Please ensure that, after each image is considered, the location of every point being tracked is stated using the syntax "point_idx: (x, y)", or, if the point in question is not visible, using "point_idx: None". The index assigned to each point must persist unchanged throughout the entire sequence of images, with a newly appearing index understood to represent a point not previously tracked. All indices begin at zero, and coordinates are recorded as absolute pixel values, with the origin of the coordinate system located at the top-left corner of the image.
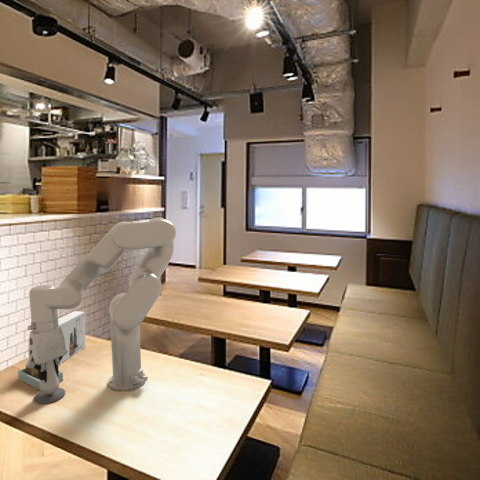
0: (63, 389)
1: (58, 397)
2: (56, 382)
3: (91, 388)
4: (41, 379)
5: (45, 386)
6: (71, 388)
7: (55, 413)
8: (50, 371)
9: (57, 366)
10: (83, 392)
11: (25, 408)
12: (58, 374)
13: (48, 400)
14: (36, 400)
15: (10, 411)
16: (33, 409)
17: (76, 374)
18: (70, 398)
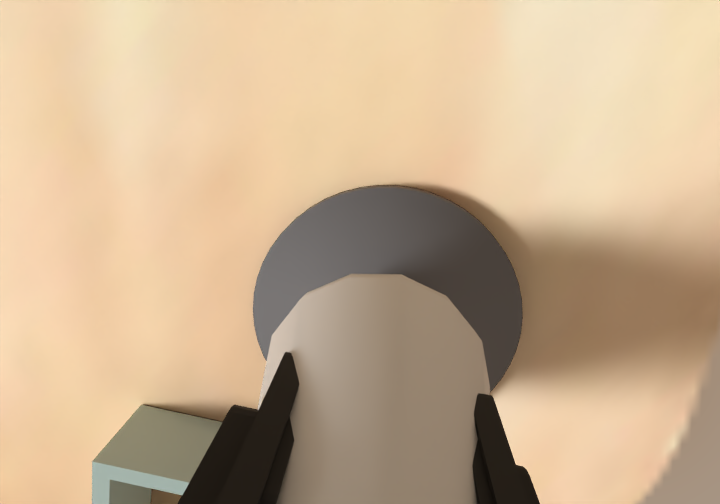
0: (261, 274)
1: (392, 206)
2: (359, 301)
3: (96, 34)
4: (524, 479)
5: (484, 362)
6: (198, 235)
7: (620, 17)
8: (419, 487)
9: (222, 493)
10: (193, 56)
11: (609, 359)
12: (139, 468)
13: (471, 255)
14: (505, 356)
15: (677, 431)
16: (606, 285)
17: (15, 372)
18: (336, 99)
